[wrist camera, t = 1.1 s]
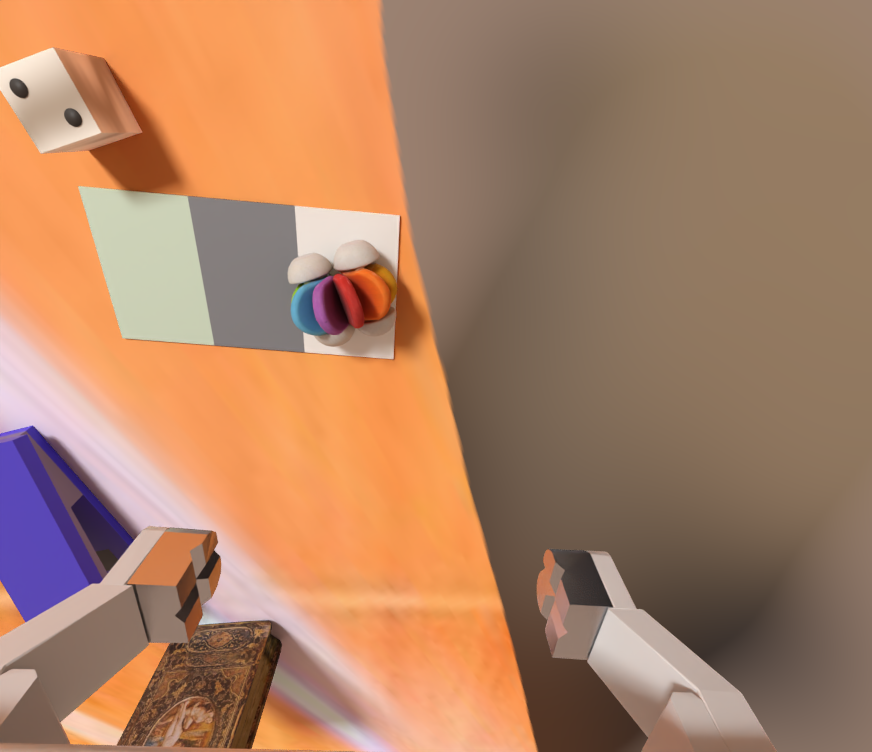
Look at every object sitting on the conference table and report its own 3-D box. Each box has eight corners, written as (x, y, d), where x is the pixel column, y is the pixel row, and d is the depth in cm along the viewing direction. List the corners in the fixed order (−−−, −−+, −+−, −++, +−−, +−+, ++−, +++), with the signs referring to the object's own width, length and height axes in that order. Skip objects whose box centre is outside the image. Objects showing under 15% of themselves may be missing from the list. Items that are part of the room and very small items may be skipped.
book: (186, 646, 71) (74, 877, 49) (171, 626, 68) (46, 861, 46) (284, 639, 70) (215, 871, 48) (274, 619, 67) (195, 855, 45)
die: (47, 79, 33) (-13, 71, 29) (104, 58, 33) (52, 47, 28) (89, 150, 36) (40, 153, 31) (143, 132, 35) (100, 132, 30)
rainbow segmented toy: (410, 317, 42) (405, 349, 36) (317, 340, 43) (297, 375, 37) (383, 229, 38) (372, 249, 32) (281, 257, 39) (251, 281, 33)
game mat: (79, 186, 37) (78, 186, 37) (399, 215, 38) (399, 215, 38) (123, 337, 44) (122, 338, 43) (393, 358, 45) (393, 359, 45)
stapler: (103, 587, 64) (52, 658, 55) (-47, 438, 50) (-145, 502, 42) (173, 574, 62) (132, 644, 54) (38, 417, 49) (-46, 478, 40)
